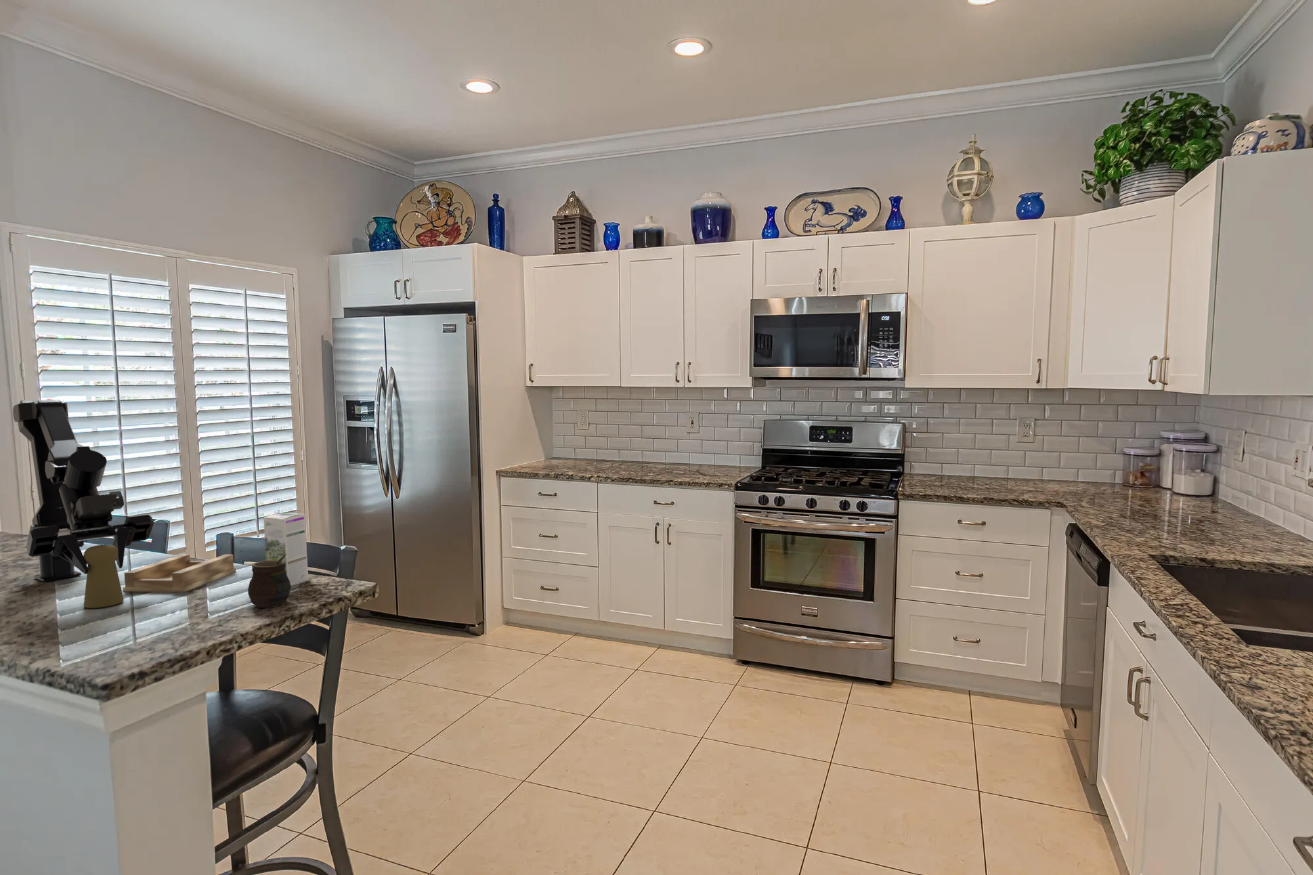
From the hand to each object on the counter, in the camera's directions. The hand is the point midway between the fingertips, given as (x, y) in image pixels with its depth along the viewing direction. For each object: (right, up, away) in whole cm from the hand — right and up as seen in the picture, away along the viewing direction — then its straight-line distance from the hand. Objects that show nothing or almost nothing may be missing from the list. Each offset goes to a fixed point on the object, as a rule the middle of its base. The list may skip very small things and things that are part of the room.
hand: (104, 569), depth 134 cm
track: (+3, -6, +18) cm, 19 cm away
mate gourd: (+31, -7, +1) cm, 32 cm away
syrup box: (+26, -6, +16) cm, 31 cm away
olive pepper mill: (-1, -7, +1) cm, 7 cm away
